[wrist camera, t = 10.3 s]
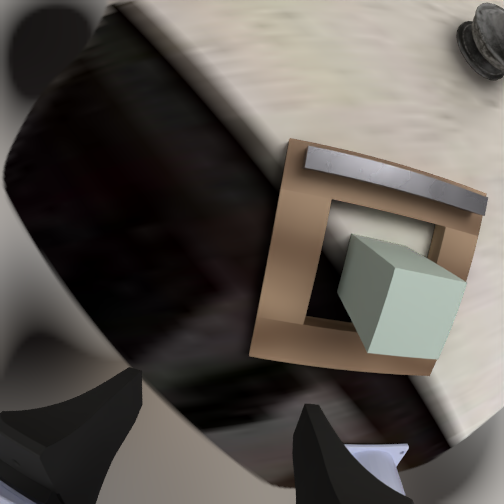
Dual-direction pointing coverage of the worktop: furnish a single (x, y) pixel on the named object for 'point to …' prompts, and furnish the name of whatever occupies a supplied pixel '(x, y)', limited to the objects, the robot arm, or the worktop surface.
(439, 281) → the peg
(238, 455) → the worktop surface
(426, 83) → the worktop surface
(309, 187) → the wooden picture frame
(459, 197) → the metal rail
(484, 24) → the grey chess piece
